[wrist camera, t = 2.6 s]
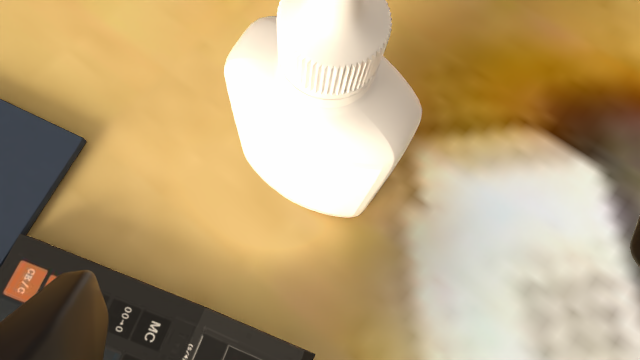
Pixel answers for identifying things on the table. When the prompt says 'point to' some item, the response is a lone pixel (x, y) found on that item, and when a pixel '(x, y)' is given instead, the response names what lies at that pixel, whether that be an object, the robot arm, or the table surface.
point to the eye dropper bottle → (321, 102)
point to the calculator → (140, 312)
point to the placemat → (29, 169)
